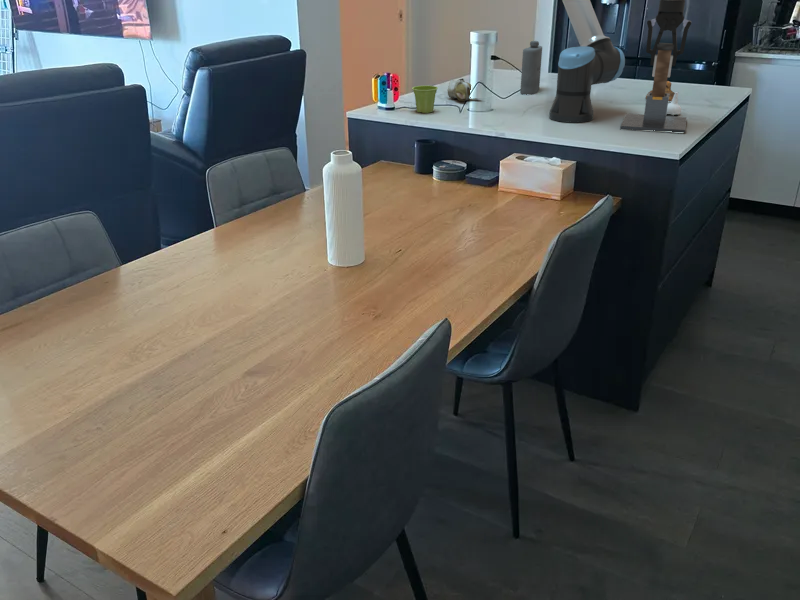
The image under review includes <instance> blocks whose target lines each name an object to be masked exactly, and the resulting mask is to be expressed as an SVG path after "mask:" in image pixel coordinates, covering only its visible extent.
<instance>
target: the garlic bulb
mask: <svg viewBox="0 0 800 600" xmlns="http://www.w3.org/2000/svg"><path fill="white" fill-rule="evenodd" d="M674 93H675V95H674V97H673V99H672V101H671V102H670V103H668V107H667V113H666V115H667V114H680V113H681V114H682V107H681V105H680V104H679V103H678V97H679V92H677V91H676V92H674ZM681 114H680V115H681Z"/></svg>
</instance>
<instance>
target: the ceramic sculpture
mask: <svg viewBox="0 0 800 600" xmlns="http://www.w3.org/2000/svg"><path fill="white" fill-rule="evenodd" d="M447 86H448V87H447V89H446V90H447V96H448V97H449V98H450V99H456V100H458V101H459V102H465V101H469V100H468V98H469V95H470V90H471V86H472V85H471V83H470V82H467V81H465V79H464V78H460V79H458V80H453V79H450V80H449V83H448V85H447Z"/></svg>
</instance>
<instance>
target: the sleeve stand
mask: <svg viewBox="0 0 800 600" xmlns="http://www.w3.org/2000/svg"><path fill="white" fill-rule="evenodd" d="M669 94H670V93H665V96H651V95H652V92H650V91H648V92H647V94H646V95H647V98H646V97H645V107H644V114H641V113H640V114H639V113H625V116H624V117H623V119H622V122H621V124H620V128H619V130H621V129H631V130H630V131H636V130H653V131H654V130H655V131H672V132H685V133H686V127H687V118H688V117H687V116H674V115H667V114H666V113H667V107H668V104H669V103H668V100H669ZM632 129H633V130H632Z"/></svg>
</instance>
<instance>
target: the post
mask: <svg viewBox="0 0 800 600" xmlns="http://www.w3.org/2000/svg"><path fill="white" fill-rule="evenodd" d="M673 49H674V45H673V42H672V43H671V42H670V43H669V42H660V43H659V44H657V54H656V55H657V62H656V69H655V76H654V77H653V83H652V95H651V96H665V91H666V84H667V81H668V78H669V77H667V76H668V70H669V63H670V57H671V55H672V53H673Z"/></svg>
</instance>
